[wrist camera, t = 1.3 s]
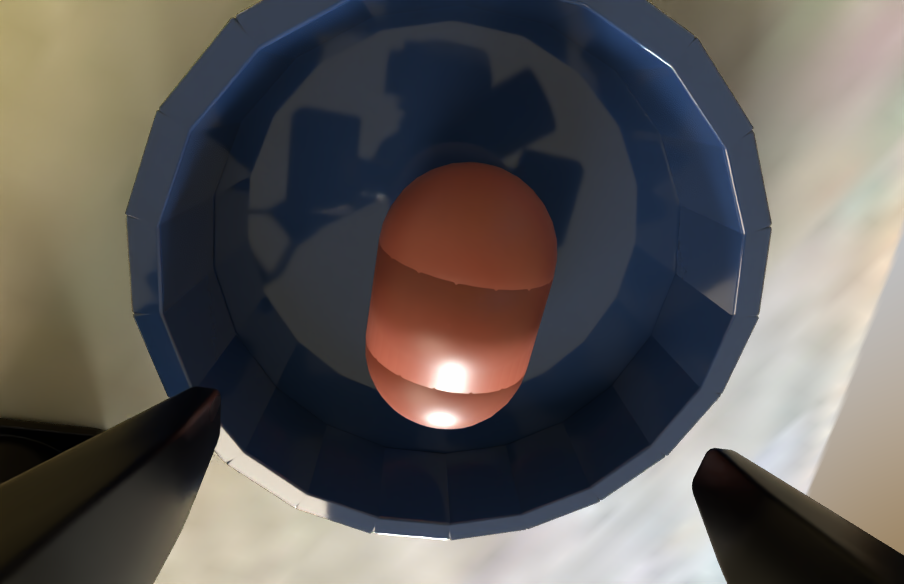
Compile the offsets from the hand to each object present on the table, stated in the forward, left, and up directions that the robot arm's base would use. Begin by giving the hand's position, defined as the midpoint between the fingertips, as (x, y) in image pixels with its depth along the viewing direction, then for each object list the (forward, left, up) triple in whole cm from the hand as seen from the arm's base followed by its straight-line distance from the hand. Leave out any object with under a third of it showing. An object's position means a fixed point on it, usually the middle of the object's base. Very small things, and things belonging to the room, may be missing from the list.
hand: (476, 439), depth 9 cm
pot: (0, 0, -9) cm, 9 cm away
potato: (0, 0, -9) cm, 9 cm away
